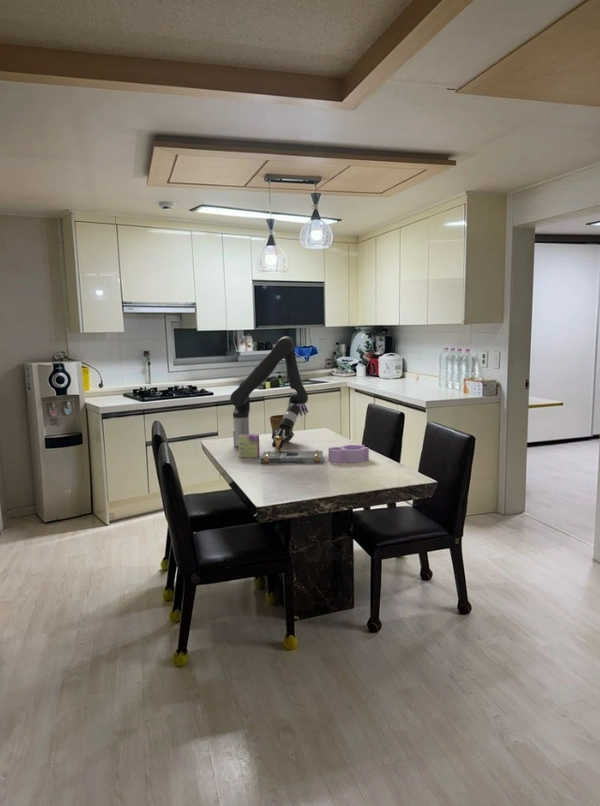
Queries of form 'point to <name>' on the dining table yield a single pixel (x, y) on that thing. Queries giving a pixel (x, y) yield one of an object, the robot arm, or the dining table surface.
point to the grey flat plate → (292, 457)
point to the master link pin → (278, 443)
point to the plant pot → (276, 422)
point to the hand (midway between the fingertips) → (276, 446)
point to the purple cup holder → (348, 454)
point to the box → (248, 445)
